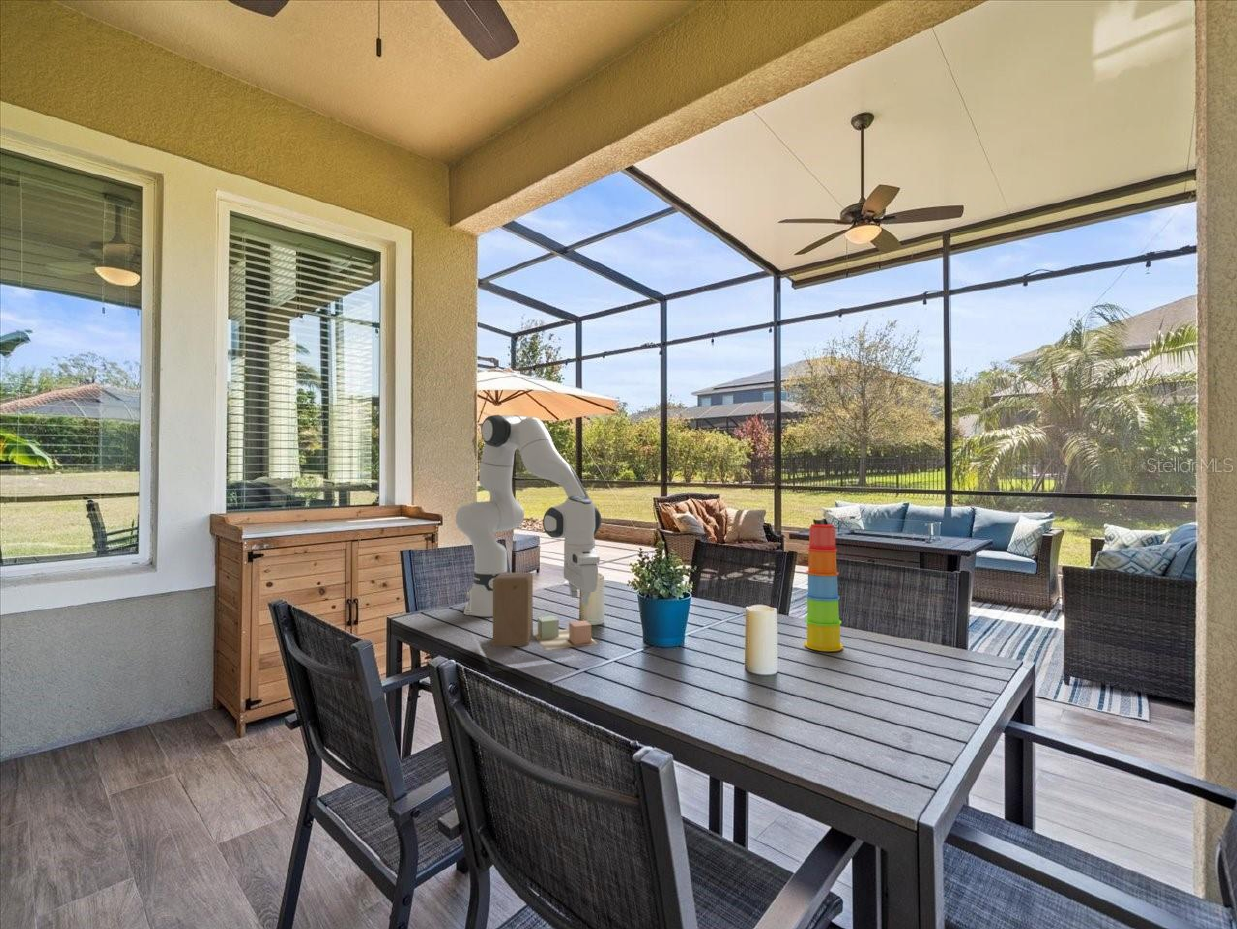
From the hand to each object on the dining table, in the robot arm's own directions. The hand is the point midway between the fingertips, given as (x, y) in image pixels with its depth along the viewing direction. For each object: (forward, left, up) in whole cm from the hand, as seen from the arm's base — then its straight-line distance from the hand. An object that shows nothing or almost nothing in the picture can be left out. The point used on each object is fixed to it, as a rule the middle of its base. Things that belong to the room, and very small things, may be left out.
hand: (578, 601), depth 167 cm
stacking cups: (+28, +63, -13) cm, 71 cm away
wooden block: (-8, -17, -13) cm, 23 cm away
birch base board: (-4, -3, -13) cm, 14 cm away
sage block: (-9, -7, -11) cm, 16 cm away
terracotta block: (0, 0, -11) cm, 11 cm away
